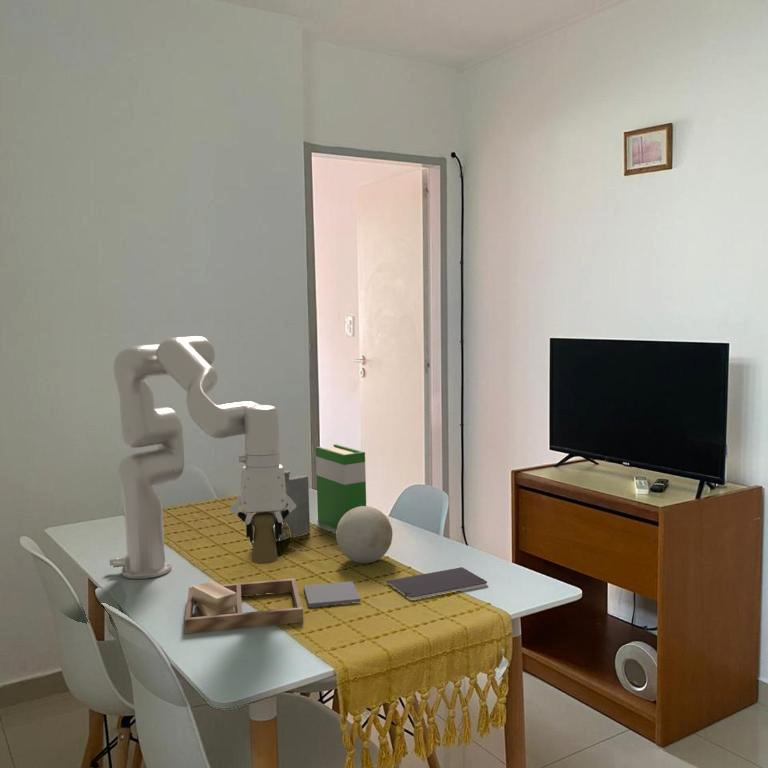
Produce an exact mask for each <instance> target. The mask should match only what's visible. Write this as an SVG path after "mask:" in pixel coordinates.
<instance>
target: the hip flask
mask: <svg viewBox="0 0 768 768" xmlns="http://www.w3.org/2000/svg"><path fill="white" fill-rule="evenodd" d="M283 470H284V475H285V484H286V494H287V495H288V496H289V497H290V498H291V499H292V500H293V501H294V502H295V503H296V508H295V509H294V510H293V511H291V512H290V513H289V514H288V515H287V516H286V518H285V519H284V520H283V522H286V523H287V524H288V526H289V529H290V533H291V537H293V538H295V537H294V536H298V535H302V534H305V533H309V532H310V533H311V524H310V523H311V522H310V520H311V519H310V494H309V490H310V487H309V475H306V474H303V475H301V474H299V475H296V476H290V475H291V471H290V470H285V469H283ZM287 506H288V503H287V502H286V508H287ZM282 511H283V510H282ZM282 511H280V512H282ZM271 513H273V514H274V516H275V520H276V515H275V512H271ZM310 533H309V534H310ZM302 536H303V535H302ZM298 537H299V536H298Z"/></svg>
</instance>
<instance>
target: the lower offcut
mask: <svg viewBox="0 0 768 768" xmlns="http://www.w3.org/2000/svg"><path fill="white" fill-rule="evenodd" d="M196 603H197V605H196V606H197V607H198V609H199V611H200V613H201V616H202V617H203V616H213V615H224V614H235V613H237V612H236V610H235V607H232V608H229V609H226V610H222V611H219V612H216V611H215V610H213V609H211V608H209V607H207V606H205V605H203V604H201V603H199V602H198V601H196Z"/></svg>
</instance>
